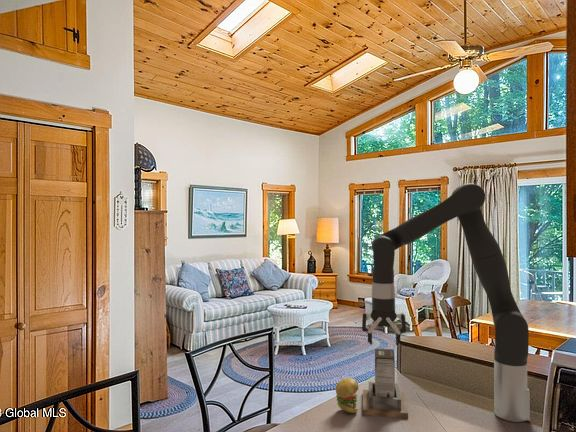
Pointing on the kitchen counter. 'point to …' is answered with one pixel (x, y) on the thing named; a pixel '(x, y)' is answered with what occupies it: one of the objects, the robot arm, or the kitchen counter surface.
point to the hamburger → (347, 394)
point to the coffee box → (384, 373)
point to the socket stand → (384, 403)
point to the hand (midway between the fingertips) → (383, 344)
